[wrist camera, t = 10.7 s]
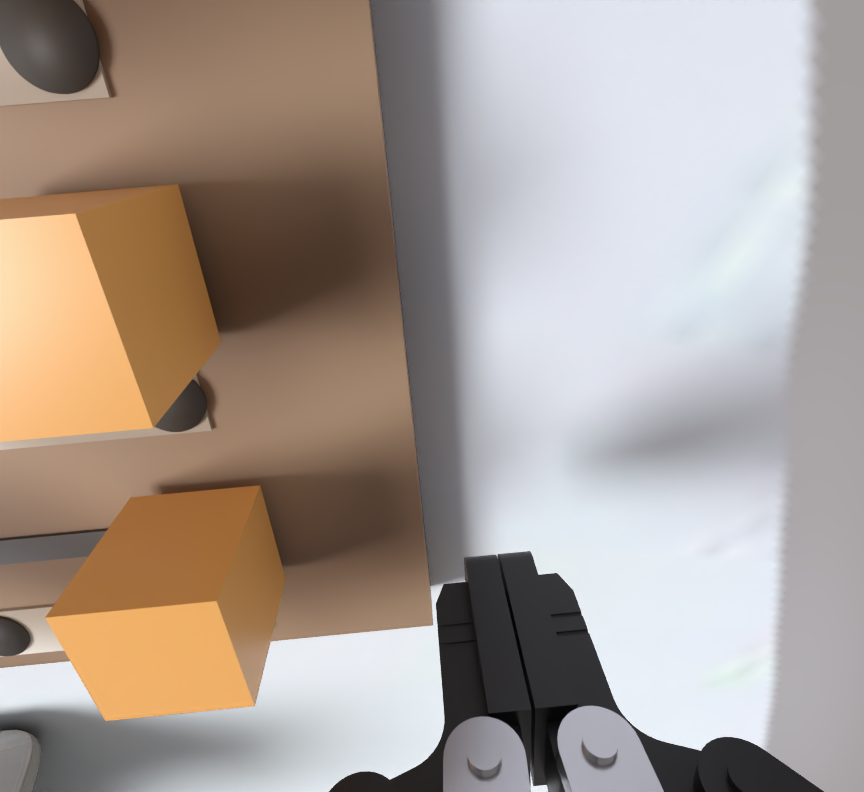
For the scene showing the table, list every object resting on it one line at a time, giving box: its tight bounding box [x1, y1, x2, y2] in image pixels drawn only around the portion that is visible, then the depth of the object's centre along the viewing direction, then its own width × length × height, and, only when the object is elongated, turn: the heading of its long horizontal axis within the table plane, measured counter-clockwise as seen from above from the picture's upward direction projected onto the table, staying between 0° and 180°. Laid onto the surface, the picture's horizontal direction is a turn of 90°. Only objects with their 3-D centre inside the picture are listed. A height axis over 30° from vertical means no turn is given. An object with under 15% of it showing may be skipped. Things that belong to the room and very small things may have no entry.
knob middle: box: [0, 184, 221, 442], centre depth 9 cm, size 3×3×4 cm
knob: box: [45, 485, 286, 721], centre depth 12 cm, size 3×3×4 cm
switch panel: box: [0, 0, 433, 668], centre depth 12 cm, size 23×16×2 cm
